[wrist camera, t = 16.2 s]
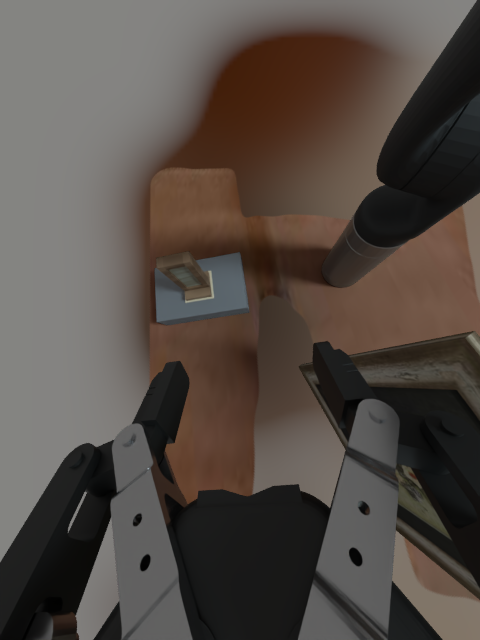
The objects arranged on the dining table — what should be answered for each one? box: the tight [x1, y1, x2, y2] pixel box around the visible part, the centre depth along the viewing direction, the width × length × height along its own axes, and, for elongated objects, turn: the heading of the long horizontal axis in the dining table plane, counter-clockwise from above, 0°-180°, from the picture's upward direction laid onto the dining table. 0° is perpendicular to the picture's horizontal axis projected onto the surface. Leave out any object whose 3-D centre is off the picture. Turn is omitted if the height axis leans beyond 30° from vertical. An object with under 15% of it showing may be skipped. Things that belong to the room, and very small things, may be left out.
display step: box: [155, 252, 249, 325], centre depth 47 cm, size 22×14×5 cm, turn 98°
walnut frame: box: [156, 251, 212, 301], centre depth 39 cm, size 6×6×13 cm
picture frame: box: [299, 331, 480, 600], centre depth 25 cm, size 33×10×30 cm, turn 27°
